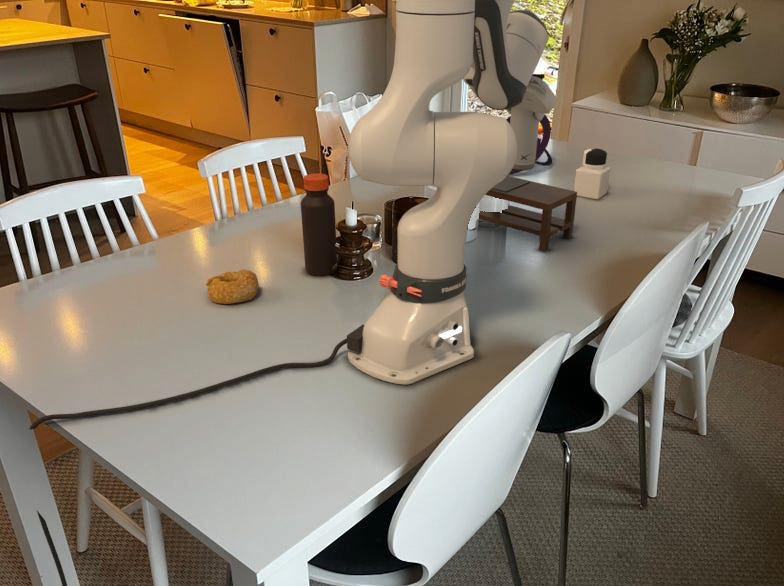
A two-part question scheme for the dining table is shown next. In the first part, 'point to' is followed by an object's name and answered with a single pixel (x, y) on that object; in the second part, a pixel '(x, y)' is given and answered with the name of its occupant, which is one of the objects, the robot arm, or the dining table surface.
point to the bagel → (233, 287)
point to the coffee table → (537, 198)
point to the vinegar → (318, 226)
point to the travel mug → (525, 135)
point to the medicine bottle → (592, 175)
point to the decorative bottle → (540, 143)
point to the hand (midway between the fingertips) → (526, 114)
